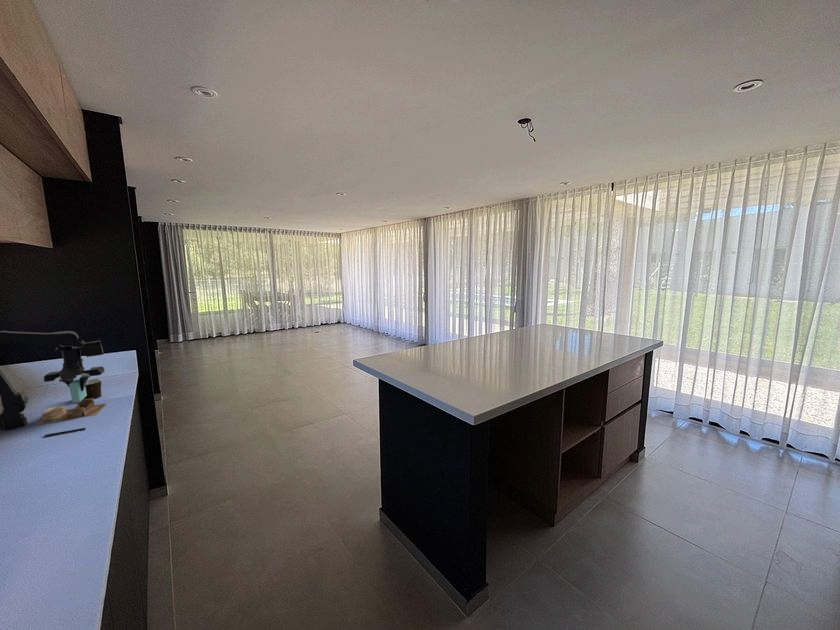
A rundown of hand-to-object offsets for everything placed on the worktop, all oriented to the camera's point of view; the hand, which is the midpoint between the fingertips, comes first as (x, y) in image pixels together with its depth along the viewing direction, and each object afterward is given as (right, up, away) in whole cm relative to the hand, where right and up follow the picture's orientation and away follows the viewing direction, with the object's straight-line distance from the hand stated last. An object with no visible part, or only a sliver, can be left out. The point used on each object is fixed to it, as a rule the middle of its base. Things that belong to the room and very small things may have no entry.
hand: (78, 391), depth 153 cm
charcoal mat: (+7, -14, -10) cm, 18 cm away
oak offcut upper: (-8, -9, -3) cm, 13 cm away
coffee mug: (-10, -9, +17) cm, 22 cm away
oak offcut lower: (-8, -11, -3) cm, 14 cm away
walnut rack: (-3, -12, +1) cm, 12 cm away
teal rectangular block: (0, -4, +1) cm, 4 cm away
